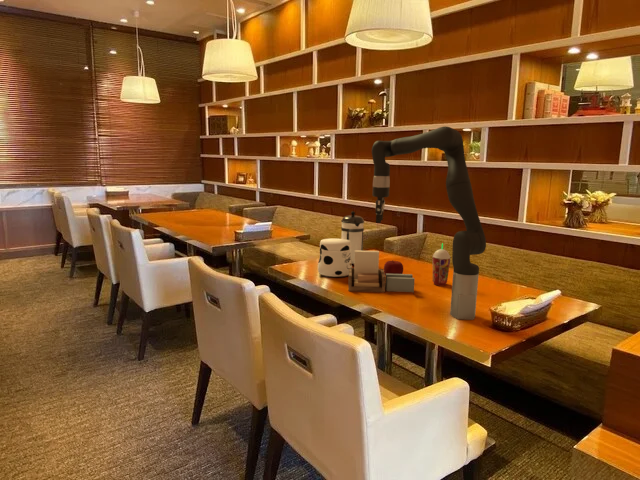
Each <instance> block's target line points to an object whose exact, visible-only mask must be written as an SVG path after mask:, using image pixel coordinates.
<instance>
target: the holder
mask: <svg viewBox="0 0 640 480" xmlns="http://www.w3.org/2000/svg"><path fill="white" fill-rule="evenodd" d="M385 292H398V293H399V292H401V293H402V292H405V293H413V295H414V294H415V277H413V274H412V273H410V274H409V273H408V274H407V273H403V274H386V276H385Z"/></svg>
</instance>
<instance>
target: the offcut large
mask: <svg viewBox="0 0 640 480" xmlns="http://www.w3.org/2000/svg"><path fill="white" fill-rule="evenodd" d="M354 286H361V287H379V281H378V283H358V281H357V279H354Z"/></svg>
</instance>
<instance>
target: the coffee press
mask: <svg viewBox="0 0 640 480" xmlns="http://www.w3.org/2000/svg"><path fill="white" fill-rule="evenodd" d="M364 224H365V220H364V218H363V217H362V216H360V215H356V212H355V211H353V210H352V211H351V212H350V214H349V215H345V216H343V217H342V219H341V227H340V228H341V229H340V230H341V239H346V240H349V241H350V242H351V248H350V249H351V254H350V259H351V263H352V264H353V265H354V263H355V250H359V251H364V250H363V249H364V229H365V227H364Z"/></svg>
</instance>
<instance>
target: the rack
mask: <svg viewBox="0 0 640 480" xmlns="http://www.w3.org/2000/svg"><path fill="white" fill-rule="evenodd" d="M378 276H379V278H378V281H379V287H361V286H354V267H352V268H349V276H348V292H363V293H364V292H365V293H386V287H385V280H386V276H385V274H384V268H378Z"/></svg>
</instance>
